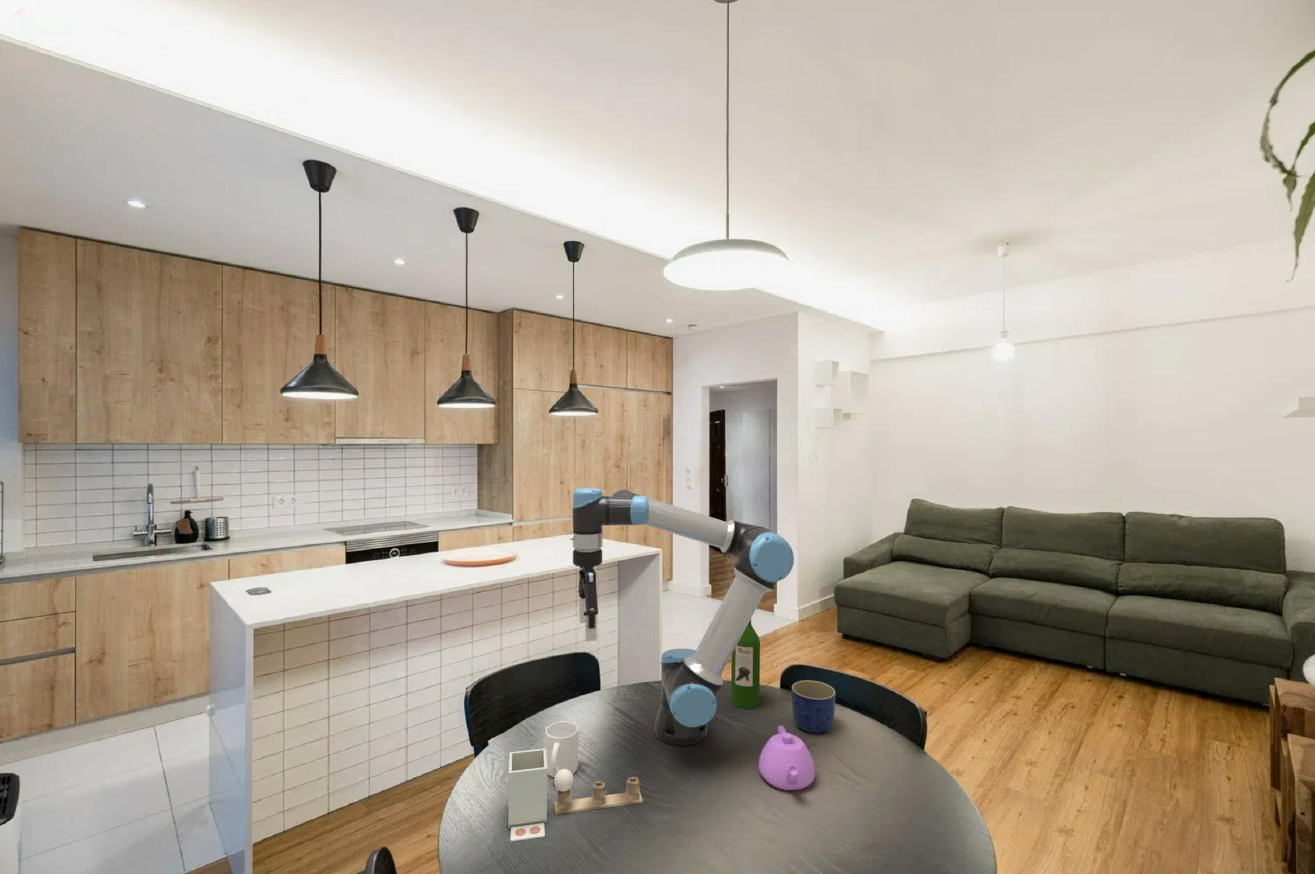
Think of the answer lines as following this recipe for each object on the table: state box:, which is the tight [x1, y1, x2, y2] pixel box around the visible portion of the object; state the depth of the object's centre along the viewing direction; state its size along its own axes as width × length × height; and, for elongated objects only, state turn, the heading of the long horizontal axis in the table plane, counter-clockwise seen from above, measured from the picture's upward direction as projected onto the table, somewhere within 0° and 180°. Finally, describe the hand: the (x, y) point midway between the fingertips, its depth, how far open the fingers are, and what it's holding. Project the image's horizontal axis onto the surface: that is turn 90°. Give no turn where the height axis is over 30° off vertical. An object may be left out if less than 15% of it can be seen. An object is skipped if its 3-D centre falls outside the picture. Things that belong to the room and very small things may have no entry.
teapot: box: [758, 725, 816, 791], centre depth 145 cm, size 14×20×11 cm
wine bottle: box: [730, 618, 761, 710], centre depth 185 cm, size 9×9×32 cm
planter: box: [791, 679, 836, 734], centre depth 170 cm, size 12×12×11 cm
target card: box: [510, 823, 546, 842], centre depth 124 cm, size 7×4×1 cm, turn 103°
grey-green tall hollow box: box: [507, 748, 548, 829], centre depth 130 cm, size 8×8×12 cm
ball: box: [553, 769, 574, 791], centre depth 132 cm, size 4×4×4 cm
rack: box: [553, 776, 644, 816], centre depth 134 cm, size 20×4×4 cm, turn 103°
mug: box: [544, 720, 579, 778], centre depth 145 cm, size 12×8×10 cm
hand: (587, 631), depth 149 cm, fingers open, 13 cm apart
